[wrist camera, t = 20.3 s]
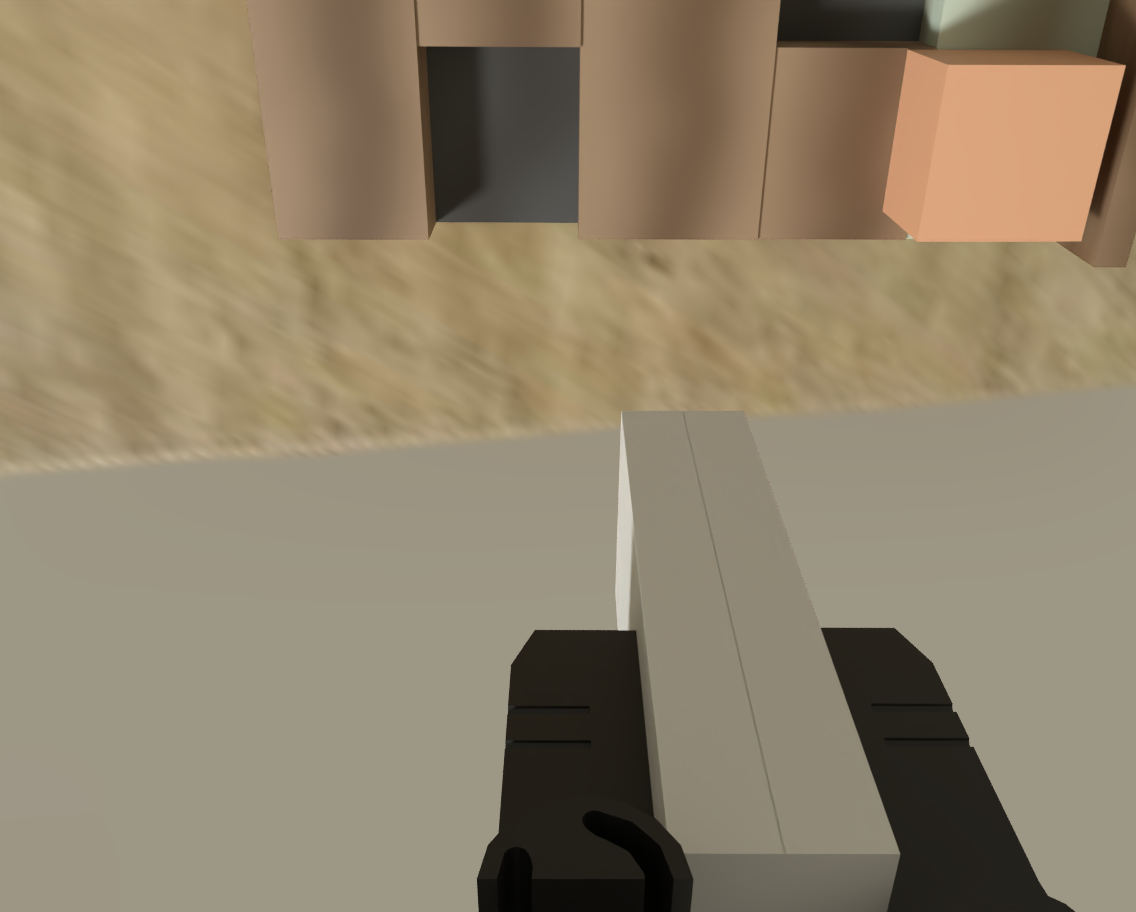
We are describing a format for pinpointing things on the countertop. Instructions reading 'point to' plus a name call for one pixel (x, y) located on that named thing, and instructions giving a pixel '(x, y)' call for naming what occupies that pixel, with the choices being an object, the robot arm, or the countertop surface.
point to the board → (635, 112)
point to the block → (999, 144)
